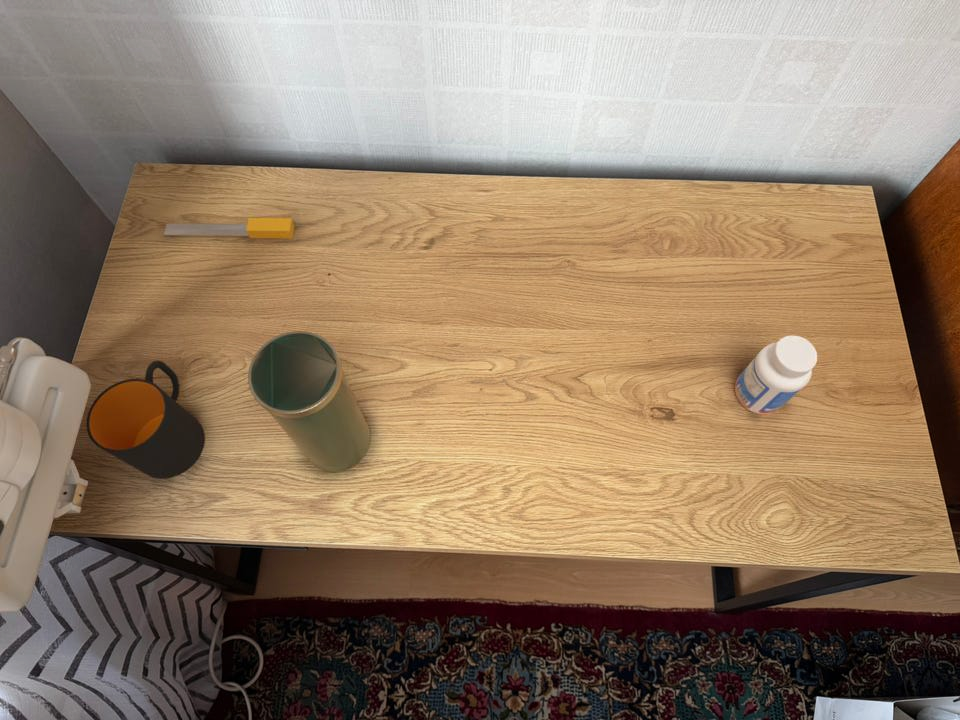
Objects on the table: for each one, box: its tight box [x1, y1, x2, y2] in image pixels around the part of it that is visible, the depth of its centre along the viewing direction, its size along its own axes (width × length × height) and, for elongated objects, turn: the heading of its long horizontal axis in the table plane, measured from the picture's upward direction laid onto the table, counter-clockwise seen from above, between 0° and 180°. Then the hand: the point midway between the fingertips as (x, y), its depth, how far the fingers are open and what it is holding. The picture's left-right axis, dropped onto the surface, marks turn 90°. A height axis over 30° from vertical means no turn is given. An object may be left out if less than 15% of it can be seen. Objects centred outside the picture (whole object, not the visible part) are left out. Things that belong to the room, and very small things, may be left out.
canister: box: [247, 330, 372, 473], centre depth 67 cm, size 8×8×20 cm
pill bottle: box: [734, 335, 818, 415], centre depth 74 cm, size 6×6×11 cm
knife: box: [163, 217, 296, 240], centre depth 88 cm, size 18×2×2 cm, turn 89°
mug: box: [85, 360, 205, 480], centre depth 72 cm, size 8×12×10 cm
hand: (76, 497), depth 58 cm, fingers closed
